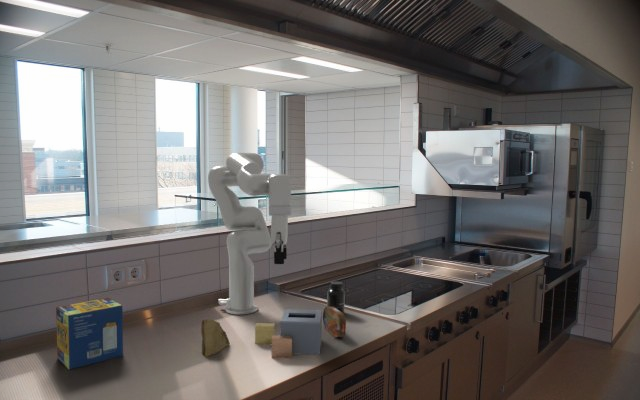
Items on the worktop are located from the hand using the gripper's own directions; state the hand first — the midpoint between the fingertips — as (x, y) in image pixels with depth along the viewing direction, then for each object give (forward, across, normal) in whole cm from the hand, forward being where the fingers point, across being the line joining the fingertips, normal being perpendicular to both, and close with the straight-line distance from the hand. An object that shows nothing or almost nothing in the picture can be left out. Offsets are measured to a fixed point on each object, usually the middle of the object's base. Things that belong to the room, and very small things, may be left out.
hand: (280, 261), depth 162 cm
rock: (+25, +15, -19) cm, 35 cm away
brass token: (+25, +9, -4) cm, 27 cm away
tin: (+25, -1, +18) cm, 31 cm away
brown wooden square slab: (+25, +20, +2) cm, 32 cm away
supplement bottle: (+25, -23, +19) cm, 39 cm away
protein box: (+24, +23, -54) cm, 64 cm away
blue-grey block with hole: (+25, +11, +7) cm, 29 cm away
